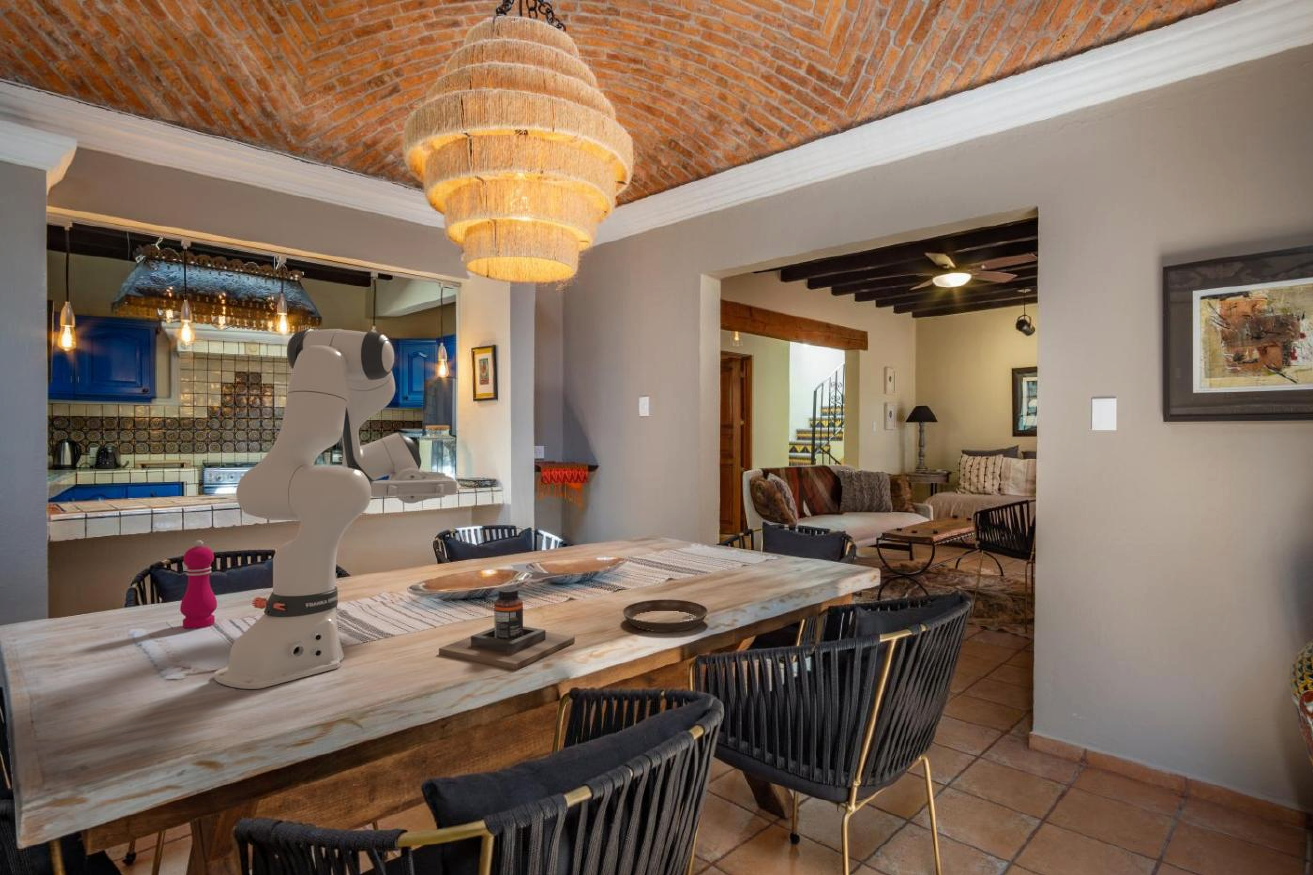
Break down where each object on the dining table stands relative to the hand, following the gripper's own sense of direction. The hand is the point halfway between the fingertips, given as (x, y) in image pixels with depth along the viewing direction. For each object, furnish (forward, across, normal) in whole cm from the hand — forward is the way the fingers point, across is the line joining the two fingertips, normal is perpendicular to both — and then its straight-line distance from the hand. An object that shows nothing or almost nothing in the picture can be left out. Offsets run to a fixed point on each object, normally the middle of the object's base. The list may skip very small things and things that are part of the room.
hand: (418, 490), depth 167 cm
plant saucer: (+26, +53, +32) cm, 68 cm away
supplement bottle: (+30, +14, +31) cm, 45 cm away
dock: (+30, +14, +32) cm, 46 cm away
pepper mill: (-19, -47, +32) cm, 60 cm away
